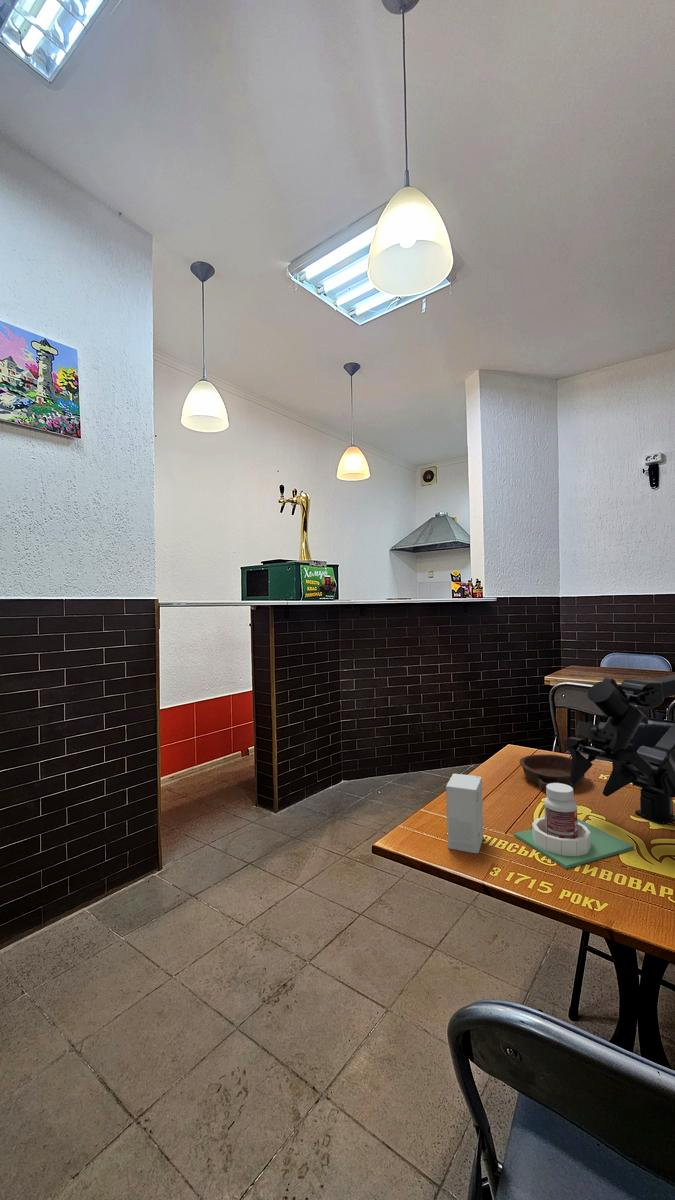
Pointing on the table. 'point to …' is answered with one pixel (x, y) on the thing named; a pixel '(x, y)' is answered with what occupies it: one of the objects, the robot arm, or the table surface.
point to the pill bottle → (560, 811)
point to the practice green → (573, 844)
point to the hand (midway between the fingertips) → (587, 789)
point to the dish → (548, 769)
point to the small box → (464, 813)
